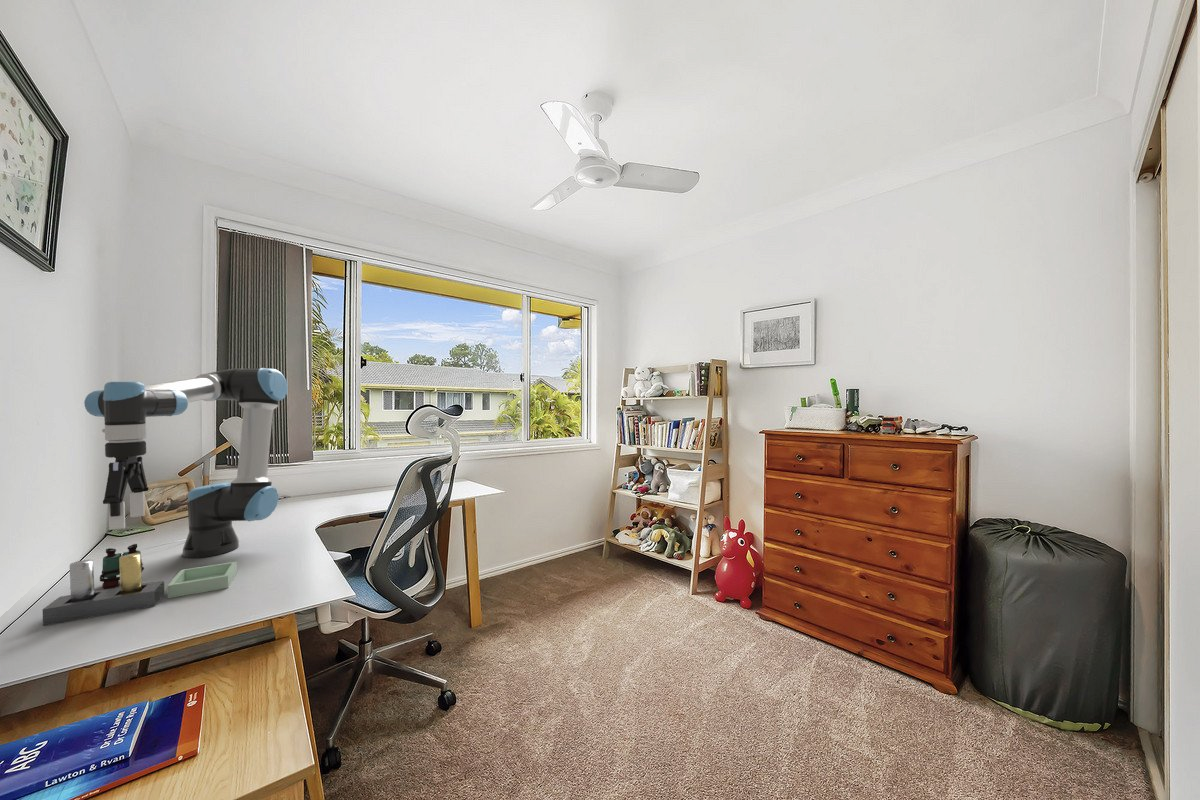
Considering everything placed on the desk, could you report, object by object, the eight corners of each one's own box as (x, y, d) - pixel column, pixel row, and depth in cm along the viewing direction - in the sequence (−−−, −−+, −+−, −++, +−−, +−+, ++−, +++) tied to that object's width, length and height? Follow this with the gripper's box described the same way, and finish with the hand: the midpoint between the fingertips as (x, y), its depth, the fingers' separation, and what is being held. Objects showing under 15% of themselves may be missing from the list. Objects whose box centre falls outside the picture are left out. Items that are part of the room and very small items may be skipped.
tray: (181, 581, 138) (181, 569, 138) (236, 572, 144) (236, 561, 144) (167, 598, 127) (167, 585, 127) (228, 587, 133) (228, 575, 133)
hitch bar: (60, 612, 119) (59, 596, 119) (164, 594, 129) (164, 580, 129) (43, 625, 112) (42, 609, 112) (154, 606, 122) (154, 590, 122)
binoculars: (98, 559, 129) (100, 547, 136) (99, 596, 130) (101, 582, 137) (143, 551, 135) (143, 540, 143) (144, 586, 136) (144, 573, 144)
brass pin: (124, 603, 124) (122, 555, 123) (144, 600, 125) (143, 552, 125) (118, 610, 120) (116, 559, 120) (139, 606, 122) (137, 556, 122)
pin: (76, 612, 119) (74, 561, 119) (98, 608, 121) (96, 558, 121) (68, 618, 116) (66, 566, 115) (90, 614, 118) (89, 563, 117)
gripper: (125, 438, 131) (127, 513, 131) (82, 446, 109) (85, 537, 109) (160, 436, 134) (162, 510, 135) (126, 444, 113) (129, 532, 113)
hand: (127, 522), depth 122 cm, fingers open, 13 cm apart
